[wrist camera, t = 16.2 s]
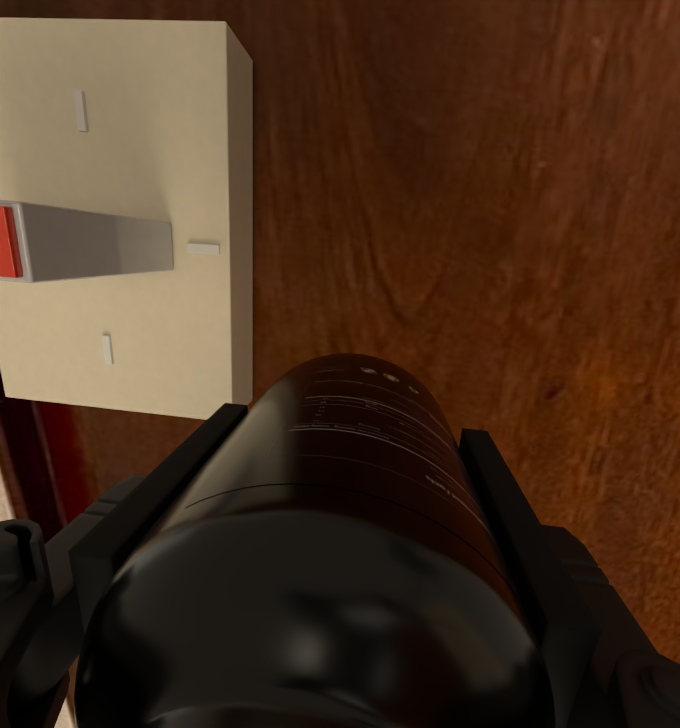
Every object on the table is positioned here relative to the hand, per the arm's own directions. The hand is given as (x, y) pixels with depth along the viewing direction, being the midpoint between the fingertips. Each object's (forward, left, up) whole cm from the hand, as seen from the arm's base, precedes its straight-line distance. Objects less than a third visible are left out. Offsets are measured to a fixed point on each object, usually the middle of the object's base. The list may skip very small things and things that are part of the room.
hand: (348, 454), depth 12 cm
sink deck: (-6, -12, -8) cm, 16 cm away
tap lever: (-6, -12, -5) cm, 14 cm away
